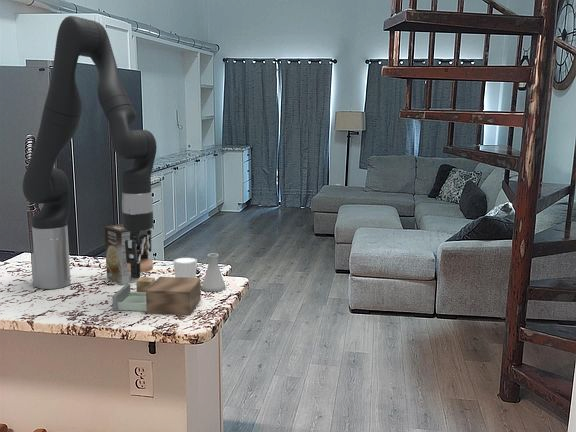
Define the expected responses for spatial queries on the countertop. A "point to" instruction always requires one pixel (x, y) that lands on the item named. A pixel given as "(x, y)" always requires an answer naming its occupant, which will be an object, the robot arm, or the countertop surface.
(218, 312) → the countertop surface
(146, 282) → the olive brown cube
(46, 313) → the countertop surface
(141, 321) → the countertop surface
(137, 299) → the tray
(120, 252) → the coffee box
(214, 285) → the flask
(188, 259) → the white cup
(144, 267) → the coaster
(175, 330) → the countertop surface
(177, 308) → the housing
